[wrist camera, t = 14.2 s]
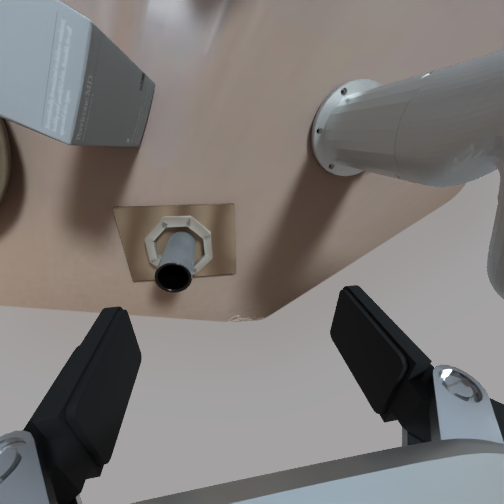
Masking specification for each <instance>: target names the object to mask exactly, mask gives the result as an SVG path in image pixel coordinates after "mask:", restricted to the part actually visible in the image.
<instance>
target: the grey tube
mask: <svg viewBox="0 0 504 504" xmlns="http://www.w3.org/2000/svg"><path fill="white" fill-rule="evenodd" d="M195 251H196V241H195V239H194V237H193V236H192V235H190V234H189V233H186V232H176V233H174V234H172V235H171V236H170V238H169V240H168V242H167V244H166V247H165V249H164V252H163V254H162V257H161V259H160V262H159V264H158V266H157V269H156V271H155V275H154V278H155V282H156V284H157V285H158V286H159V287H160V288H161V289H163V290H165V291H167V292H180V291H183V290H185V289H186V288H187V287H188V286H189V285H190V284H191V281H192V274H193V267H194V259H195Z"/></svg>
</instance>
